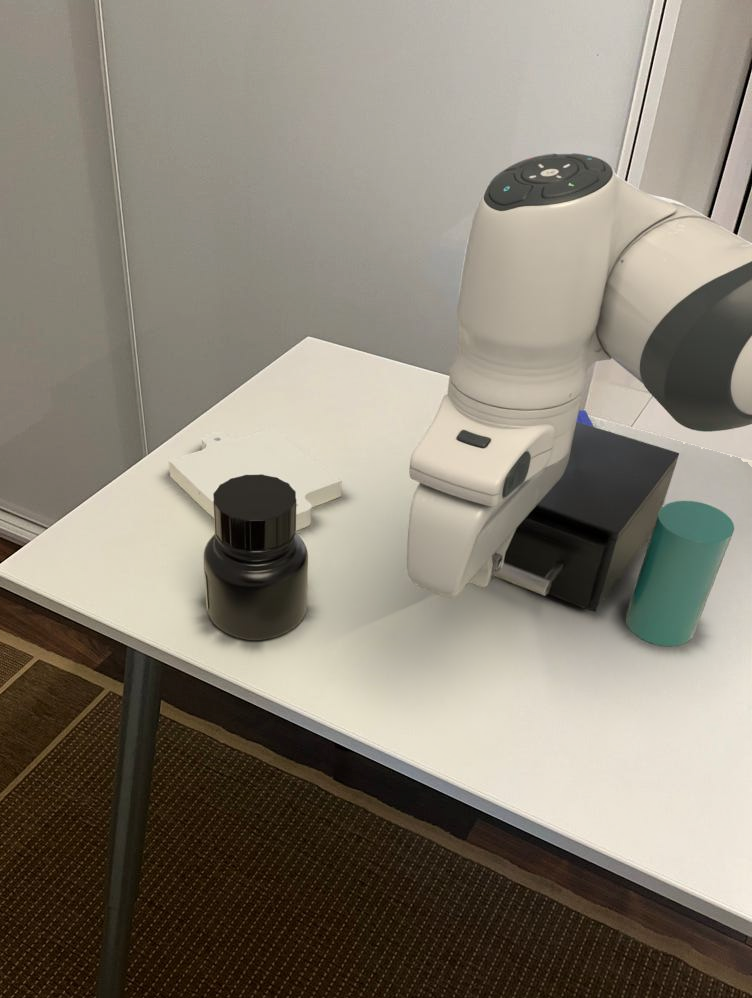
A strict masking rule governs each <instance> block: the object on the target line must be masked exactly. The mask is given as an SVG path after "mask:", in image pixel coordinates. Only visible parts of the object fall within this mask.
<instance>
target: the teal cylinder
mask: <svg viewBox="0 0 752 998" xmlns="http://www.w3.org/2000/svg"><path fill="white" fill-rule="evenodd" d="M734 532H735V525H734V522H733V520H732V519H731V517H729V515H727V514H726V513H725V512H724V511H722V510H721V509H719V508H717V507H715V506H713V505H710V504H707V503H704V502H700V501H694V500H677V501H671V502H668V503H666V504H665V505H664V504H663V507H662V508H661V509H660V511H659V513H658V516H657V519H656V522H655V525H654V529H653V532H652V534H651V536H650V537H649V541H648V545H647V548H646V551H645V554H644V557H643V560H642V563H641V567H640V570H639V572H638V576H637V579H636V582H635V586H634V589H633V592H632V595H631V598H630V601H629V604H628V607H627V609H626V610H627V611H626V614H625V623H626V626H627V627H628V629H629V630H630V631H631V632H632V633H633V634H634V635H635V636H636V637H638V638H640V639H641V640H643V641H645V642H647V643H649V644H653V645H656V646H661V647H678V646H681V645H685V644H686V643H688V642H690V640H692V639H693V637H694V635H695V633H696V630H697V628H698V625H699V622H700V620H701V618H702V615H703V612H704V609H705V607H706V605H707V601H708V600H709V597H710V594H711V592H712V589H713V586H714V583H715V581H716V579H717V576H718V573H719V571H720V569H721V566H722V563H723V561H724V558H725V555H726V552H727V550H728V547H729V545H730V542H731V539H732V537H733V534H734Z"/></svg>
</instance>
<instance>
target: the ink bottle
mask: <svg viewBox="0 0 752 998" xmlns="http://www.w3.org/2000/svg"><path fill="white" fill-rule="evenodd" d="M213 497H214V501H213V506H214V518H213V523H214V526H213V527H214V534H213V535H212V536H211V537H210V539H209V540H208V541H207V543H206V545H205V547H204V550H203V575H204V590H205V591H204V592H205V607H206V611H207V615H208V617H209V619H210V620H211V622H212V623H213V624H214V625H215V626H216V627H217V628H218V629H219V630H220V631H223V632H224V633H226V634H228V635H231V636H233V637H236V638H239V639H242V640H248V641H261V640H268V639H269V640H270V639H272V638H276V637H280V636H281V635H284V634H285V633H288V632H289V631H291V630H293V629H294V628H296V627H297V626H298V625H299V624H300V623H301V621H302V620H303V619H304V617H305V615H306V613H307V606H308V580H309V579H308V578H309V577H308V575H309V572H308V571H309V552H308V548H307V545H306V544H305V542H304V540H303V539H302V537H300V535H299V534H297V531H296V492H295V490H293V488H292V487H291V486H290V484H289V483H286V482H284V481H282V480H280V479H279V478H277V477H271V476H266V475H262V474H260V475H244V476H240V477H236V478H231V479H230V480H228V481H226V482H225V483H223V484H220V485H219V487H218V489H217V490H216V491H215V492H214V494H213Z"/></svg>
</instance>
